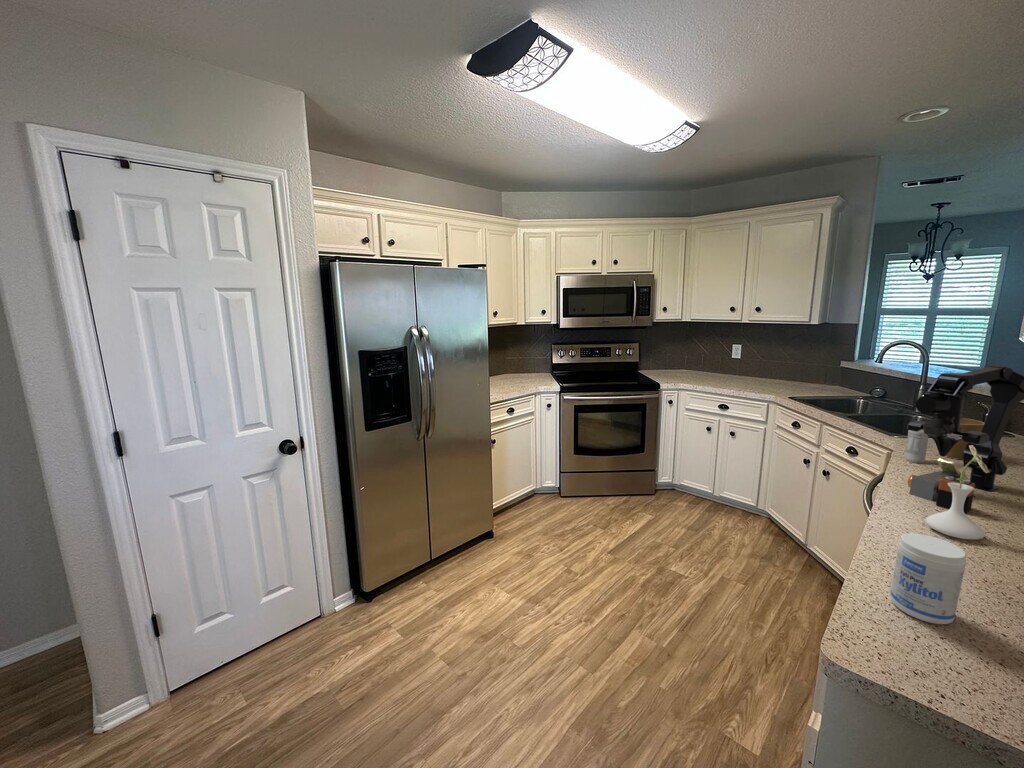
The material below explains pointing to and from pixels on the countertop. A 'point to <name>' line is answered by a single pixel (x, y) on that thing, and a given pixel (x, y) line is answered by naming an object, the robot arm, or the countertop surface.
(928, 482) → the drawbar block
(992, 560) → the countertop surface
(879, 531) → the countertop surface
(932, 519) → the flower in vase
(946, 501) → the battery
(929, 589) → the supplement tub
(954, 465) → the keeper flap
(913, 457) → the energy drink can
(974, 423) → the plant pot
